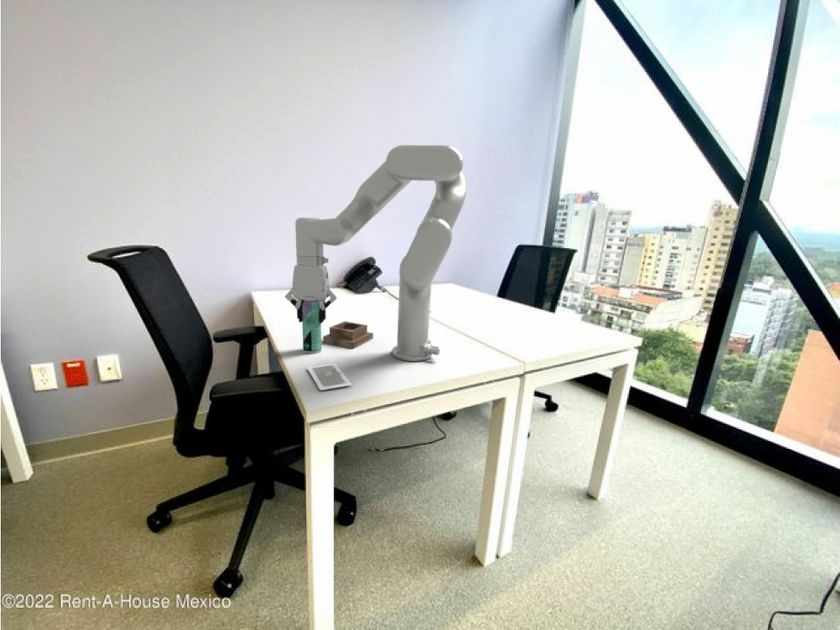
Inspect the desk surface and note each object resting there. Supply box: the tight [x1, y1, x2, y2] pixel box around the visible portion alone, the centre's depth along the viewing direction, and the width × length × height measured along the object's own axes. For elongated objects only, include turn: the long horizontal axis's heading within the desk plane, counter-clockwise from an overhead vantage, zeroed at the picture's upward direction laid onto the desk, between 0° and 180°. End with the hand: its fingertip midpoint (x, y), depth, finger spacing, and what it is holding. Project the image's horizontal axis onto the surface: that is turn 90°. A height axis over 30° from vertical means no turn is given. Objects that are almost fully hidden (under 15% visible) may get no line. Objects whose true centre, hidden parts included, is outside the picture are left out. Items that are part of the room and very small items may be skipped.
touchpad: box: [306, 363, 353, 391], centre depth 97 cm, size 8×15×2 cm, turn 28°
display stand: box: [322, 320, 374, 349], centre depth 126 cm, size 12×12×5 cm
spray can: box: [301, 296, 323, 355], centre depth 113 cm, size 6×6×20 cm
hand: (311, 320), depth 113 cm, fingers closed on spray can, 5 cm apart
